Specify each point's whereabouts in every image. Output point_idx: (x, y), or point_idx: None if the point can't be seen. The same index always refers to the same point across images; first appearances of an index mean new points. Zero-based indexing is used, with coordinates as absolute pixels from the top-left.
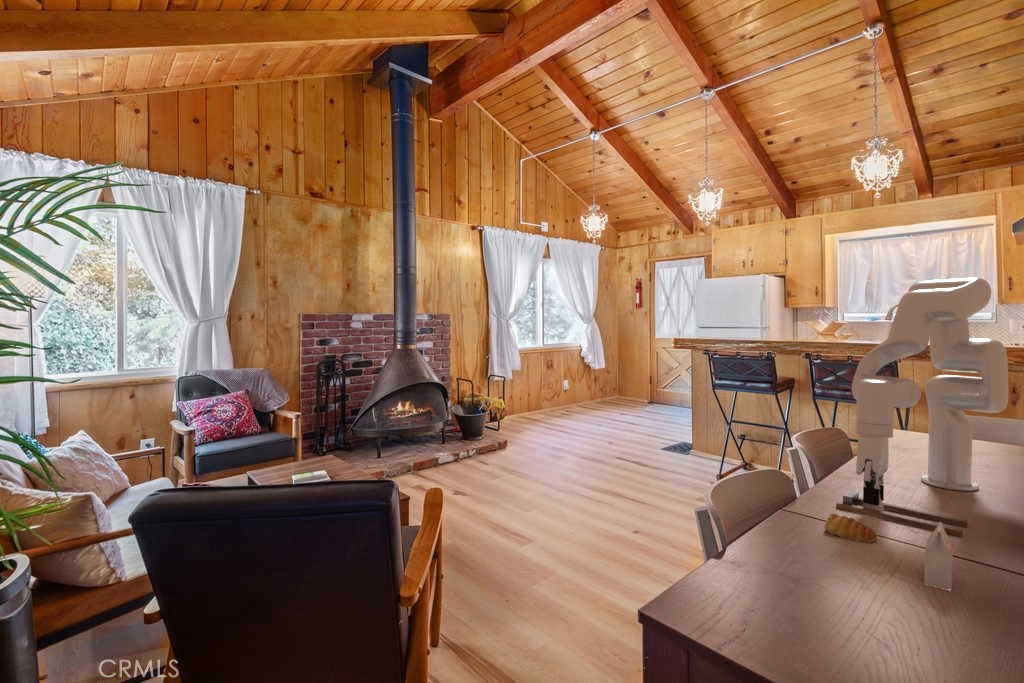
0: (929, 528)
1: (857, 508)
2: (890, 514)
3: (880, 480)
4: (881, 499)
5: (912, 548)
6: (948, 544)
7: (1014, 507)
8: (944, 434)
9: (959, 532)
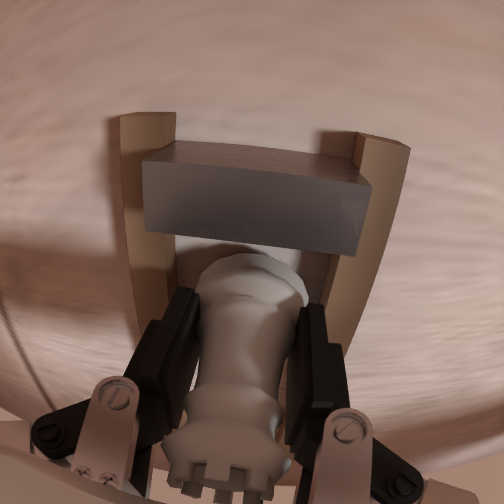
0: None
1: (129, 241)
2: None
3: (301, 479)
4: (287, 366)
5: (11, 358)
6: None
7: (468, 462)
8: None
9: None
